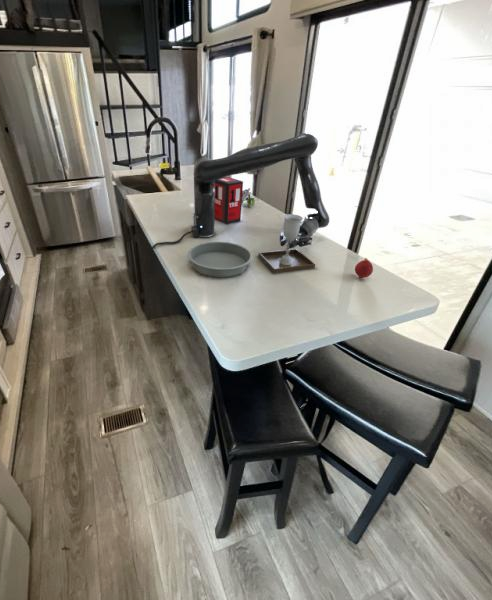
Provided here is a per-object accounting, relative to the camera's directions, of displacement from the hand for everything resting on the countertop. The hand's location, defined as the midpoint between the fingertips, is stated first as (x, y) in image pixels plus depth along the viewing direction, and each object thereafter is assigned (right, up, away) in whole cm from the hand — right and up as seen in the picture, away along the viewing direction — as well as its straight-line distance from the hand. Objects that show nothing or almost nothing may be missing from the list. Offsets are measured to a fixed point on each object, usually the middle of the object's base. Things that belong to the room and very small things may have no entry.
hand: (286, 245), depth 119 cm
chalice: (+2, -6, +7) cm, 9 cm away
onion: (+27, -13, -3) cm, 30 cm away
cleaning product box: (-21, +23, +51) cm, 60 cm away
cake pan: (-25, -7, +5) cm, 26 cm away
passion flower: (-6, +36, +72) cm, 81 cm away
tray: (+2, -6, +7) cm, 9 cm away
